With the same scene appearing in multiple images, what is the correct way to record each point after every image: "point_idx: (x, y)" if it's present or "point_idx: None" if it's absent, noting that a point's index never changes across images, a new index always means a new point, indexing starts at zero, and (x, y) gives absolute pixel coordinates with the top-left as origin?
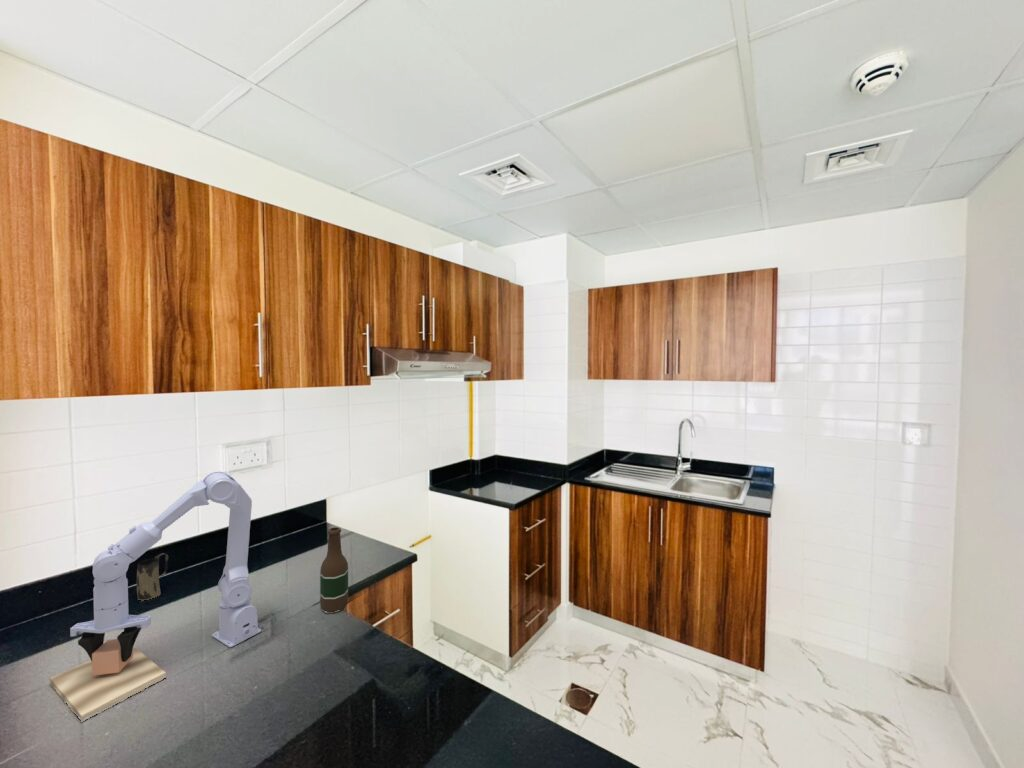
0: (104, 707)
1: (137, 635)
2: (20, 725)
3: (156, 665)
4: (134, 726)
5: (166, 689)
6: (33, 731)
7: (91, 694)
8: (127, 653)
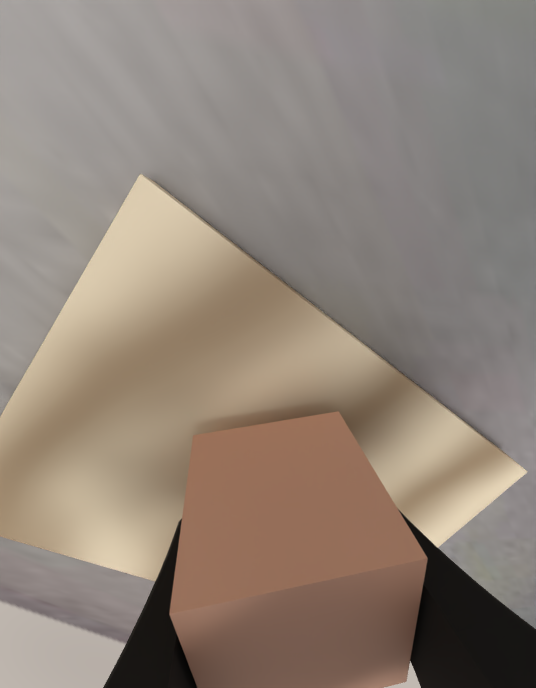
0: None
1: (533, 634)
2: (132, 626)
3: (472, 432)
4: None
5: (518, 493)
6: None
7: None
8: None
